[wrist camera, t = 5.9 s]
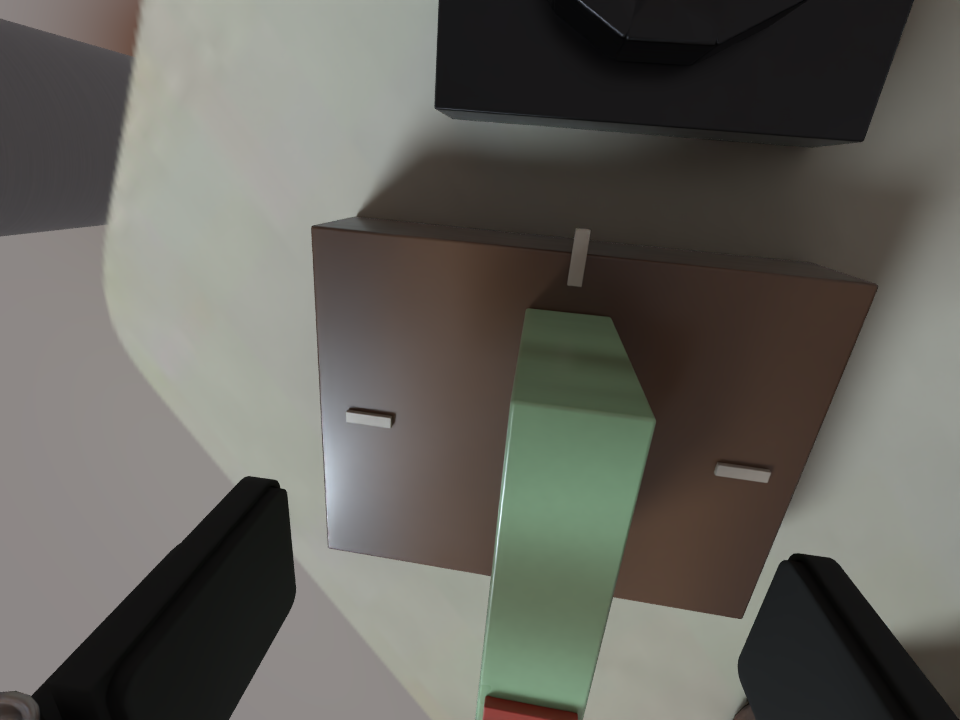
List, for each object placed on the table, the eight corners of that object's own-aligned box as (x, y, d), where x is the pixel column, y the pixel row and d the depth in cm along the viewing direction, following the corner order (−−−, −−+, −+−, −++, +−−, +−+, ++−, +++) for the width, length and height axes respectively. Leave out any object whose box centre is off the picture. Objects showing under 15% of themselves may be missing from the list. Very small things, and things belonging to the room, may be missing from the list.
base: (359, 506, 19) (325, 565, 16) (353, 196, 15) (305, 201, 12) (708, 563, 18) (739, 638, 15) (821, 241, 13) (896, 260, 11)
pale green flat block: (525, 307, 12) (509, 408, 7) (611, 316, 12) (662, 427, 7) (498, 544, 15) (472, 742, 10) (566, 555, 15) (577, 762, 10)
